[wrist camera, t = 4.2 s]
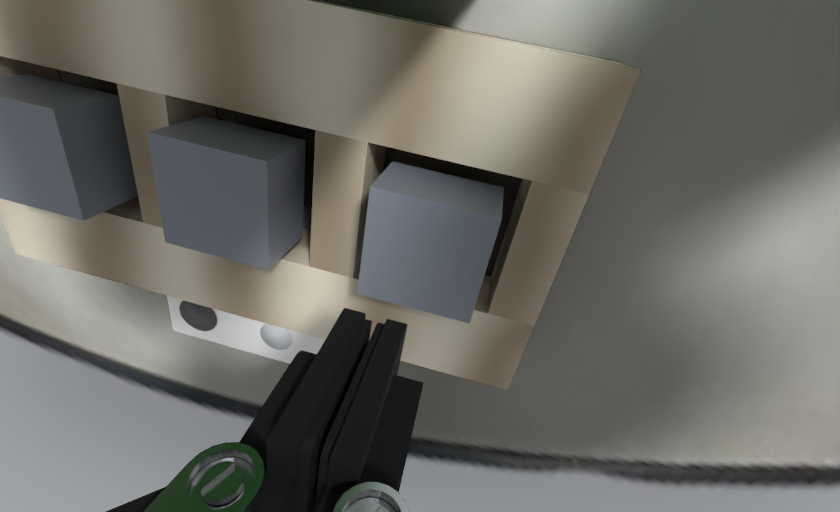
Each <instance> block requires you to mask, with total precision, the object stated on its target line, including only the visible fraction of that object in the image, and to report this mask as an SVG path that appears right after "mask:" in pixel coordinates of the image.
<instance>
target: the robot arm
mask: <svg viewBox="0 0 840 512" xmlns="http://www.w3.org/2000/svg"><path fill="white" fill-rule="evenodd" d="M365 318H366V314H365V313H363V312H359V311H355V310H351V309H347V308H344V309H343V311H342V312H341V314H340V316H339V317H338V319H337V321H336V323H335V324H334V326H333V328H332V329H331V331H330V333H329V335H328V336H327V338H326V340H325V341H324V343H323V345H322V347H321V348H320V350H319V352H318V353H317V354H314V353H310V352H306V351H302V350H301V351H299V352H298V353H297V355H296V356H295V357H294V359H293V360H292V362H291V363H290V365H289V366H288V368H287V370H286V371H285V373H284V374H283V376H282V377H281V379H280V380H279V382H278V383H277V385H276V387H275V388H274V390H273V391H272V393H271V394H270V396H269V397H268V399H267V400H266V402H265V404H264V405H263V407H262V408H261V410H260V411H259V413H258V414H257V416H256V417H255V419H254V420H253V422H252V424H251V425H250V427H249V428H248V430H247V431H246V433H245V434H244V436H243V437H242V439H241V441H240V442H239V443H238V442H237V443H236V442H235V443H222V444H219V445H215V446H212V447H210V448H208V449H206V450H204V451H203V452H201V453H199V454H198V455H197V456H196V457H195V458H194V459H192V460H191V461H190V462H189V463H188V464H187V465H186V466H185V467H184V468H183V470H182V471H181V472H180V473H179V474H178V475H177V476H176V477H175V478H174V479H173V480H172V481H171V482H170V483H169V485H168V486H167V487H165V488H162V489H160V490H157V491H155V492H152V493H150V494H148V495H145V496H143V497H140V498H138V499H136V500H133V501H131V502H128V503H126V504H123V505H121V506H118V507H116V508H114V509H111V510H109V511H107V512H410V511H409V508H408V506H407V503H406V501H405V500H404V499H403V498H402V496H401V495H400V494H399V493H398V492H399V488H400V483H401V479H402V475H403V470H404V465H405V461H406V457H407V453H408V448H409V444H410V439H411V435H412V431H413V426H414V422H415V417H416V413H417V408H418V404H419V400H420V395H421V391H422V386H423V382H419V381H415V380H411V379H408V378H404V377H400V376H397V373H398V368H399V364H400V359H401V354H402V349H403V345H404V340H405V335H406V330H407V324H406V323H402V322H398V321H394V320H390V319H387V320H386V322H385V324H383V323H379V322H378V323H377V324H376V327H375V329H374V331H373V333H372V336H371V338H370V332H371V326H372V321H371V320H367V319H365ZM369 339H370V340H369Z"/></svg>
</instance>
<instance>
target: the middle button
mask: <svg viewBox="0 0 840 512" xmlns="http://www.w3.org/2000/svg"><path fill="white" fill-rule="evenodd" d="M147 135H148V141H149V147H150V153H151V159H152V165H153V172H154V178H155V184H156V190H157V196H158V202H159V208H160V214H161V220H162V226H163V232H164V238H165V243H169V244H173V245H177V246H180V247H184V248H188V249H192V250H195V251H199V252H203V253H207V254H210V255H214V256H218V257H222V258H225V259H229V260H233V261H237V262H240V263H244V264H248V265H252V266H255V267H259V268H263V269H267V270H270V269H271V268H272V267H273V266H274V265H275V264H276V263H277V262H278V261H279V260H280V259H281V258H282V257H283V256H284V255H285V254H286V253H287V252H288V251H289V250H290V249H291V248H292V247H293V246H294V245H295V244H296V243H297V242H298V241H299V240H300V239H301V238H302V237H303V213H304V181H305V150H306V140H303V139H298V138H294V137H290V136H286V135H282V134H277V133H273V132H269V131H265V130H261V129H256V128H252V127H248V126H244V125H240V124H235V123H231V122H227V121H223V120H218V119H214V118H210V117H206V116H201V117H198V118H195V119H191V120H188V121H184V122H181V123H177V124H174V125H170V126H167V127H163V128H160V129H156V130H153V131H149V132H147Z"/></svg>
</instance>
